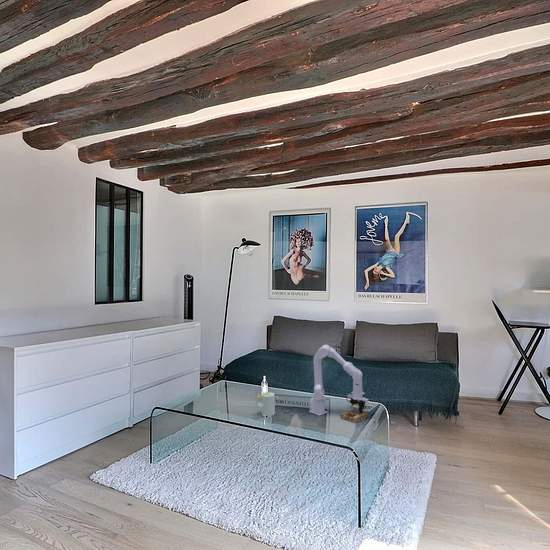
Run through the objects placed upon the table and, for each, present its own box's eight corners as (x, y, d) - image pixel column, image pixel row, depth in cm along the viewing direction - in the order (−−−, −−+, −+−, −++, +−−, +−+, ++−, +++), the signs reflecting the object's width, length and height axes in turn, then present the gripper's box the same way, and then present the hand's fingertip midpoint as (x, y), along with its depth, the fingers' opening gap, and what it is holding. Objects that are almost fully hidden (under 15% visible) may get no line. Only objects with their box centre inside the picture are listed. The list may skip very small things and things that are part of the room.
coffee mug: (365, 406, 279) (365, 391, 279) (364, 410, 271) (364, 395, 270) (347, 404, 282) (347, 390, 282) (346, 409, 274) (346, 394, 273)
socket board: (340, 418, 259) (340, 414, 259) (354, 412, 268) (354, 408, 268) (354, 423, 251) (354, 418, 250) (368, 416, 260) (368, 412, 260)
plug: (353, 416, 261) (352, 405, 261) (356, 414, 264) (356, 403, 264) (358, 417, 258) (358, 406, 258) (362, 415, 261) (361, 404, 261)
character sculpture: (268, 407, 279) (267, 388, 279) (282, 411, 273) (282, 390, 272) (249, 417, 263) (249, 396, 262) (264, 421, 256) (264, 399, 256)
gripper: (344, 388, 264) (344, 410, 264) (363, 394, 253) (364, 416, 254) (351, 386, 268) (351, 407, 269) (370, 391, 258) (370, 412, 258)
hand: (357, 411), depth 262 cm, fingers closed on plug, 4 cm apart
